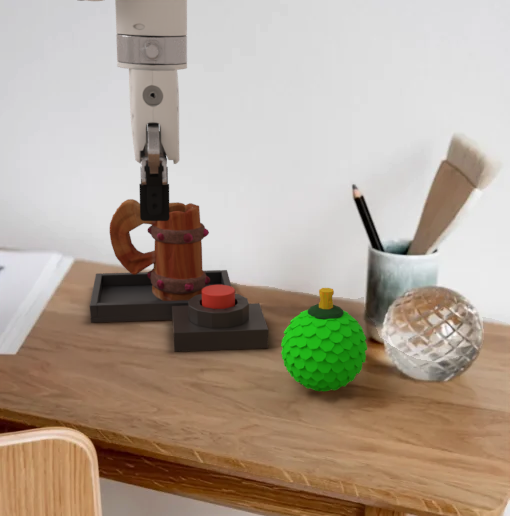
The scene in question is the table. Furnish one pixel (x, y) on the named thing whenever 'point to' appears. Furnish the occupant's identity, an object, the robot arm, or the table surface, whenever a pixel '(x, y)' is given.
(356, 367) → the ornament
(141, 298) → the pan
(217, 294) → the button
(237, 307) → the panel
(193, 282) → the mug
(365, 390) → the table surface
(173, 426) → the table surface
